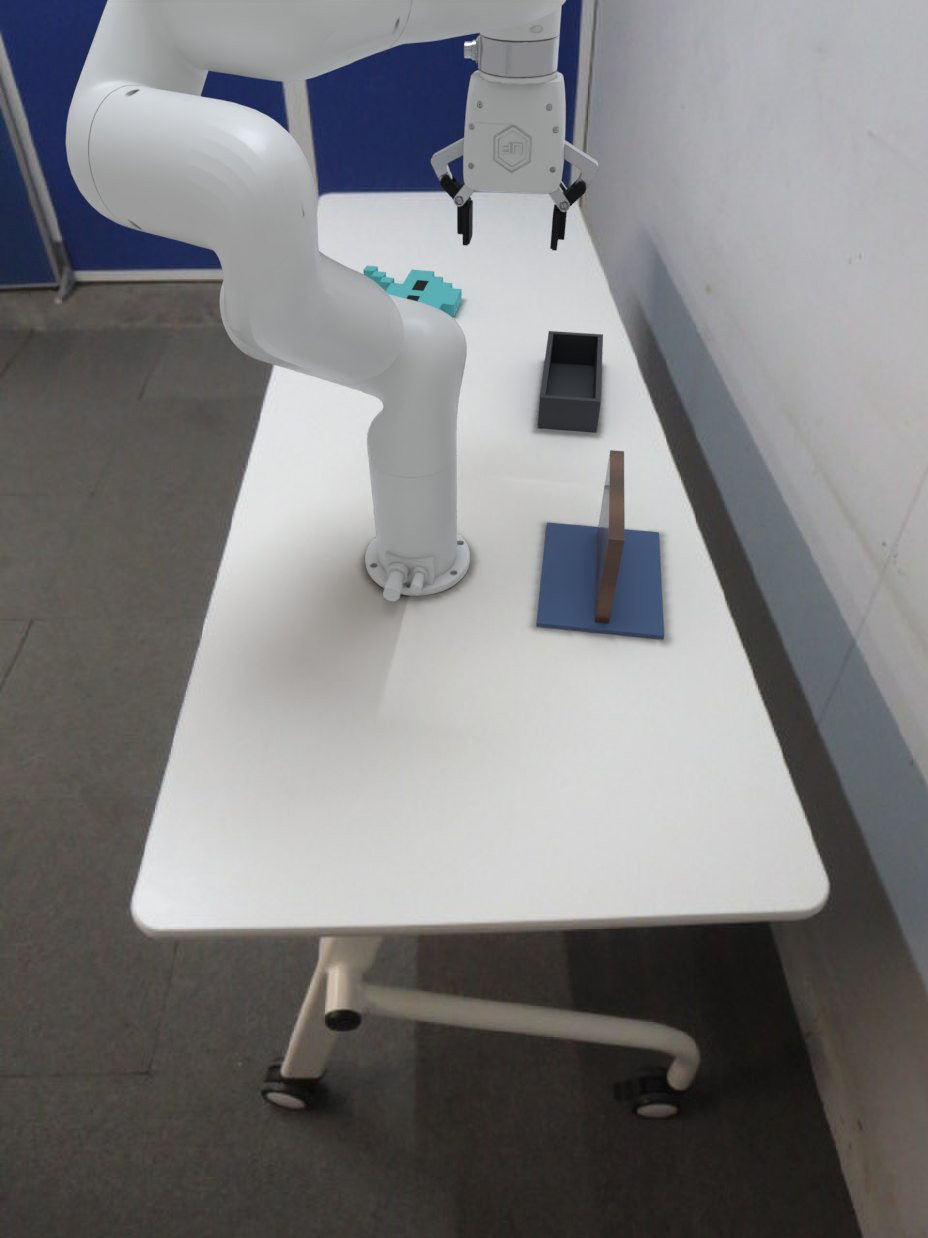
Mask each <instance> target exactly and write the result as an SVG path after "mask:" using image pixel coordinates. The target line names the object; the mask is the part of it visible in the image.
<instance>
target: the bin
mask: <svg viewBox="0 0 928 1238" xmlns="http://www.w3.org/2000/svg"><path fill="white" fill-rule="evenodd" d="M547 333H548V334H547V341H546V348H545V356H544V364H543V370H542V377H541V378H542V379H541V386H540V393H539V401H538V412H537V413H538V415H537V416H538V417H537V429H542V430H554V431H566V432H569V431H570V432H581V433H592V434H593V433H594V434H597V432H598V427H599V426H598V425H599V419H600V410H601V403H602V382H603V381H602V378H603V373H602V372H603V351H604V349H603V348H604V334H603V333H602V334H601V333H588V332H587V333H586V332H572V331H557V330H556V331H554V330H548V332H547Z"/></svg>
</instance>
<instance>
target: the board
mask: <svg viewBox="0 0 928 1238" xmlns="http://www.w3.org/2000/svg"><path fill="white" fill-rule="evenodd" d="M604 480H605V481H604V486H603V494H602V500H601V505H600V512H599V519H598V524H597V527H598V531H597V561H596V593H595V622H599V623H609V621H610V616H611V610H612V605H613V600H614V594H615V589H616V584H617V578H618V573H619V568H620V563H621V557H622V552H623V547H624V541H625V529H626V528H625V527H626V526H625V518H626V517H625V451H624V450H616V449H615V450H614V449H611V450H609V455H608V461H607V468H606V474H605V479H604Z"/></svg>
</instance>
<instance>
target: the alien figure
mask: <svg viewBox="0 0 928 1238" xmlns="http://www.w3.org/2000/svg"><path fill="white" fill-rule="evenodd" d="M362 272H363V273H362V274H364V275H365V276H367V277H369V278H370V279H372V280H373V281H375V282H376V283H377V284H378V285H379V286H380V287H382V288H383V289H384V290H385V291H386V292H387V293H388V294H390V295H394V296H398V297H402V298H406V299H410V300H414V301H417V302H421V303H424V304H427V305H430V306H433V307H435V308H437V309H440V310H442V311H444V312H445V313H447V314H448V315H450V316H451V317H452V318H454V317H455V316H456V314H457V312H458V310H459V307H460V305H461V303H462V301H463V300H462V299H463V298H462V296H463V295H462V294H463V291H462V288H453V282H444V277H443V276H435V271H433V270H423V269H411V270H410V271H409V273H408V275H407V276H406V277H405V279H404V281H403V283H399V282H395V277H391V276H390V277H389V276H387V272H386V271H379V266H378V265H365V267H364V269H363V270H362Z"/></svg>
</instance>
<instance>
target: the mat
mask: <svg viewBox="0 0 928 1238" xmlns="http://www.w3.org/2000/svg"><path fill="white" fill-rule="evenodd" d="M545 529H546V530H545V539H544V546H543V547H544V548H543V557H542V568H541V575H540V577H541V578H540V588H539V597H538V606H537V617H536V626H535V627H536V628H537V627H538V628H547V629H548V628H549V629H557V630H568V631H577V632H589V633H599V634H608V635H619V636H629V637H637V638H638V637H639V638H646V639H647V638H649V639H656V640H657V639H658V640H664V638H665V620H664V604H663V603H664V602H663V601H664V600H663V583H662V581H663V580H662V564H661V544H660V532H659V531H651V530H637V529H627V528H625V541H624V547H623V552H622V557H621V563H620V568H619V573H618V578H617V584H616V589H615V594H614V600H613V605H612V610H611V616H610V621H609V623H599V622H595V593H596V561H597V531H598V526H594V525H593V526H592V525H580V524H569V523H558V522H546V528H545Z"/></svg>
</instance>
